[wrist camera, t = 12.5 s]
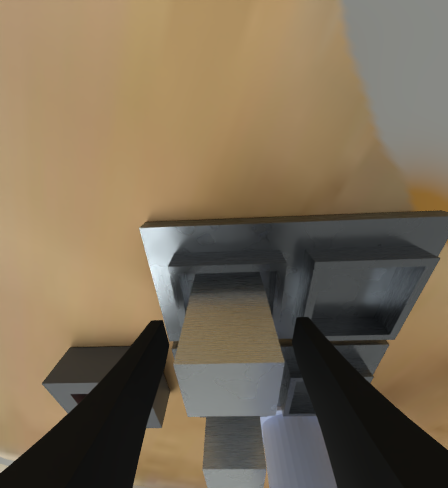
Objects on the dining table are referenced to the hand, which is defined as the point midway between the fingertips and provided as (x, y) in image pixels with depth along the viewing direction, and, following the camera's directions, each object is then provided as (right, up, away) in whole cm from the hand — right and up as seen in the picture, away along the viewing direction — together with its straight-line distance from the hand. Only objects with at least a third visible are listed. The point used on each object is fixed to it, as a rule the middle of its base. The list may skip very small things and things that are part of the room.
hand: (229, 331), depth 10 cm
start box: (-11, -8, +9) cm, 16 cm away
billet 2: (0, -8, +8) cm, 11 cm away
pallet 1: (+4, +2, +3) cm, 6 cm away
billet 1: (0, +1, +3) cm, 3 cm away
